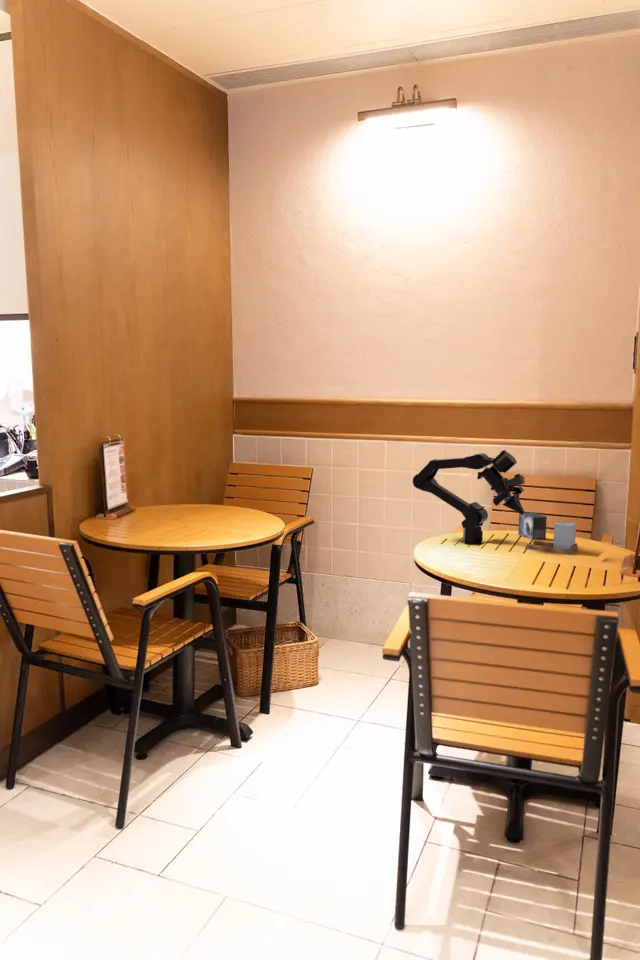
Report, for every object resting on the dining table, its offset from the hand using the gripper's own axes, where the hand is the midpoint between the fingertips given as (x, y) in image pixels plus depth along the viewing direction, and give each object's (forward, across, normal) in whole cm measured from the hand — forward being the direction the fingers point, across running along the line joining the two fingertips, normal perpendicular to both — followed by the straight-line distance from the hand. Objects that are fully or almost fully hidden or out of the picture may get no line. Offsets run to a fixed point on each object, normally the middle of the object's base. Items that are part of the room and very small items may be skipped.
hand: (523, 513), depth 285 cm
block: (+19, 0, -3) cm, 20 cm away
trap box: (+17, 0, +2) cm, 17 cm away
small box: (+8, +19, +12) cm, 24 cm away
